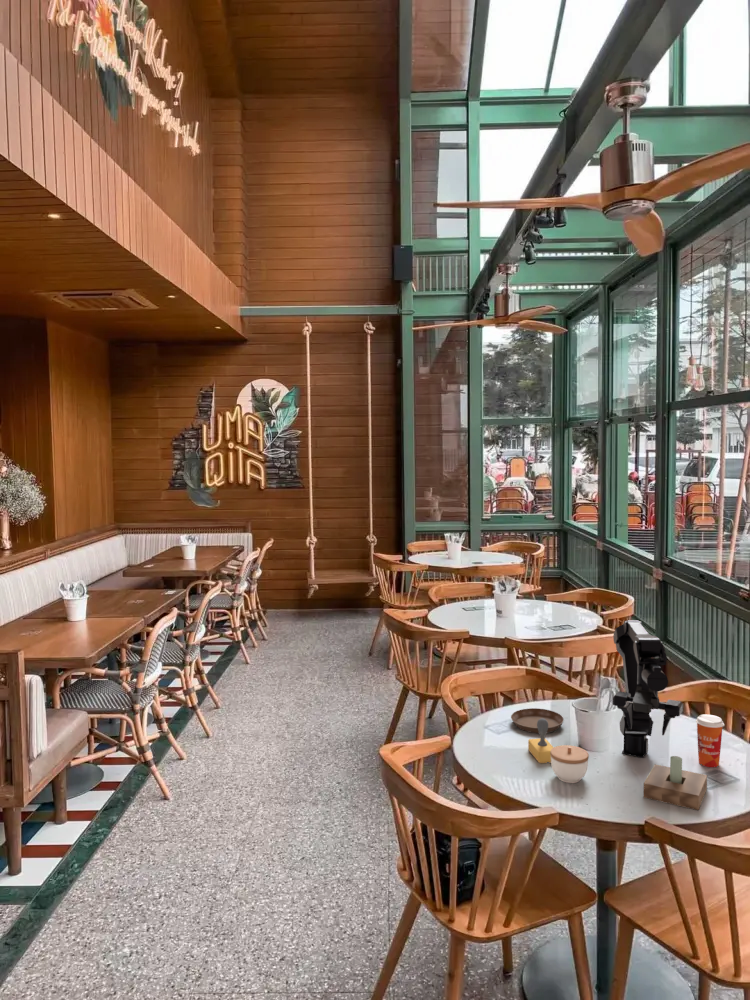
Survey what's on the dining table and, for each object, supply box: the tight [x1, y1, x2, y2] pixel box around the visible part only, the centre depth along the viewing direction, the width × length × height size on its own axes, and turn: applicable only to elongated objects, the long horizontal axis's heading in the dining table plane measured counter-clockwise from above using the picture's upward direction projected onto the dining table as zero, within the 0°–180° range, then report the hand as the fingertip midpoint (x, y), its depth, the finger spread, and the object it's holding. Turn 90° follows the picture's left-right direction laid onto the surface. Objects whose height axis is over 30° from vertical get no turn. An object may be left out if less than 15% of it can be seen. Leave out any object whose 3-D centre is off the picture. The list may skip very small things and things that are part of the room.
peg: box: [669, 755, 683, 784], centre depth 206 cm, size 3×3×10 cm
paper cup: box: [695, 713, 725, 768], centre depth 224 cm, size 8×8×14 cm
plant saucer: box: [510, 707, 565, 734], centre depth 257 cm, size 18×18×3 cm
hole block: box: [643, 763, 708, 811], centre depth 206 cm, size 14×14×4 cm
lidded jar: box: [550, 744, 590, 784], centre depth 216 cm, size 11×11×9 cm
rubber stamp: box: [527, 718, 555, 764], centre depth 232 cm, size 10×6×12 cm, turn 7°
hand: (646, 731), depth 219 cm, fingers open, 9 cm apart
